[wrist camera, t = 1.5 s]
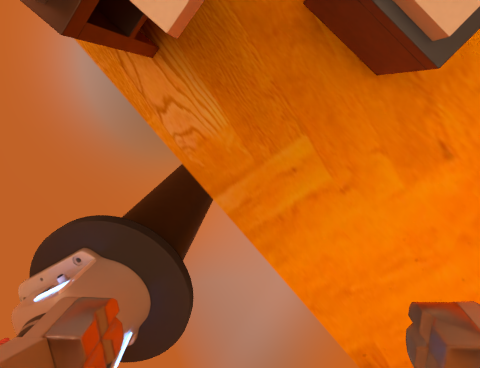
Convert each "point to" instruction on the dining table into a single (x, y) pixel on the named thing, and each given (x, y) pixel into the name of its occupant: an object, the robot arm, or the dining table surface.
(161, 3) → the cream rectangular block
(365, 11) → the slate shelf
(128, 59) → the dining table surface
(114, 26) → the walnut shelf
